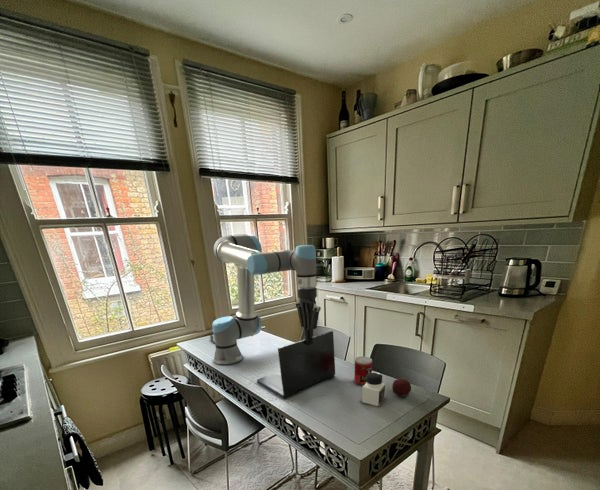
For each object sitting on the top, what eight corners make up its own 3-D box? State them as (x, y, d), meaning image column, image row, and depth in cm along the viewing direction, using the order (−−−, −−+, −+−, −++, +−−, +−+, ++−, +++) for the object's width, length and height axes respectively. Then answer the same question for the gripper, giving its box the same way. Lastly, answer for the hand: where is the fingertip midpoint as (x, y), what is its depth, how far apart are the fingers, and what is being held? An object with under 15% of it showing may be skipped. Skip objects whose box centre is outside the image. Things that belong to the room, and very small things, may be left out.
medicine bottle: (378, 406, 124) (380, 379, 120) (361, 402, 128) (362, 375, 123) (384, 398, 130) (386, 372, 125) (367, 394, 133) (369, 369, 129)
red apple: (389, 390, 136) (390, 376, 133) (407, 390, 135) (409, 375, 132) (393, 399, 129) (395, 384, 126) (413, 399, 129) (414, 383, 126)
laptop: (257, 383, 148) (256, 379, 148) (305, 364, 165) (305, 361, 165) (283, 399, 133) (283, 395, 133) (334, 377, 150) (334, 373, 149)
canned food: (361, 387, 140) (362, 364, 135) (350, 380, 146) (351, 358, 142) (375, 383, 143) (376, 360, 138) (364, 376, 149) (364, 355, 145)
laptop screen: (277, 347, 125) (278, 348, 124) (331, 330, 142) (333, 331, 141) (283, 395, 133) (284, 396, 132) (334, 373, 149) (335, 374, 149)
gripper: (289, 287, 126) (292, 342, 136) (310, 290, 117) (312, 350, 126) (303, 284, 130) (306, 338, 140) (325, 287, 121) (326, 345, 130)
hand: (309, 344), depth 133 cm, fingers closed
